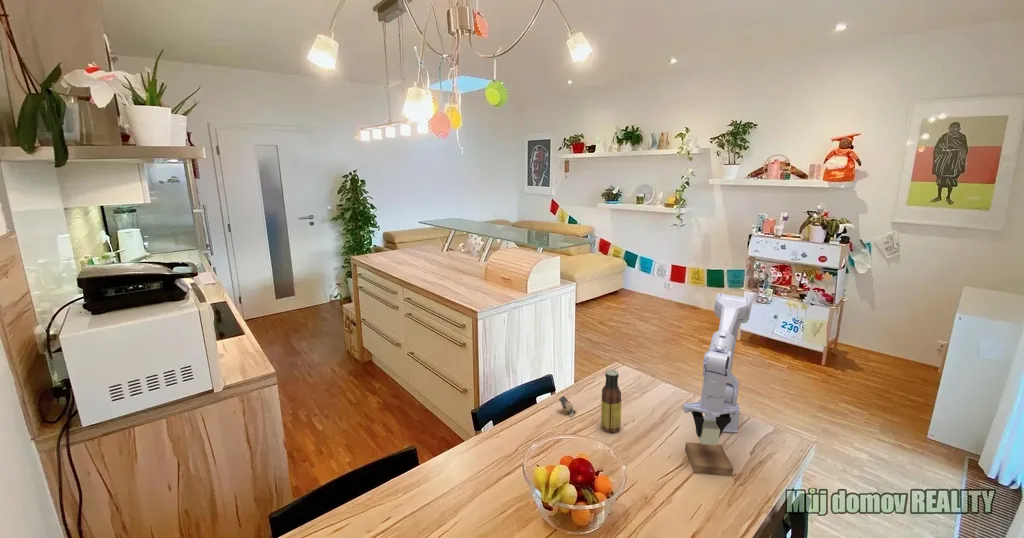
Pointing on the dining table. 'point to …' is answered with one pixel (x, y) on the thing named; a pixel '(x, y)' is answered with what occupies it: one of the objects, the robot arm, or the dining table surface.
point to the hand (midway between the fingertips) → (707, 435)
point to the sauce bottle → (611, 403)
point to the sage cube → (710, 433)
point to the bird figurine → (567, 406)
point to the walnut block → (708, 459)
